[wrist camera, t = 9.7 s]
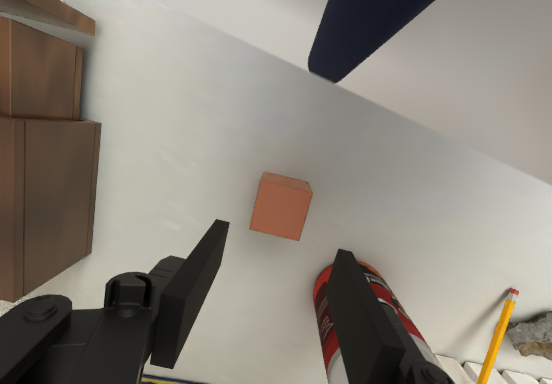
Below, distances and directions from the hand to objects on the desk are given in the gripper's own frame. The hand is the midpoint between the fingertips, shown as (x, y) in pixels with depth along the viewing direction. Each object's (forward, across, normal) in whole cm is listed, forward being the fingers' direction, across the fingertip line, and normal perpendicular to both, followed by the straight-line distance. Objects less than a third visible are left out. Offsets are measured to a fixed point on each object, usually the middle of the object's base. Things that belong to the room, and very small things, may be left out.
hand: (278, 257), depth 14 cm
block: (+13, 0, 0) cm, 13 cm away
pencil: (+10, +26, -9) cm, 29 cm away
